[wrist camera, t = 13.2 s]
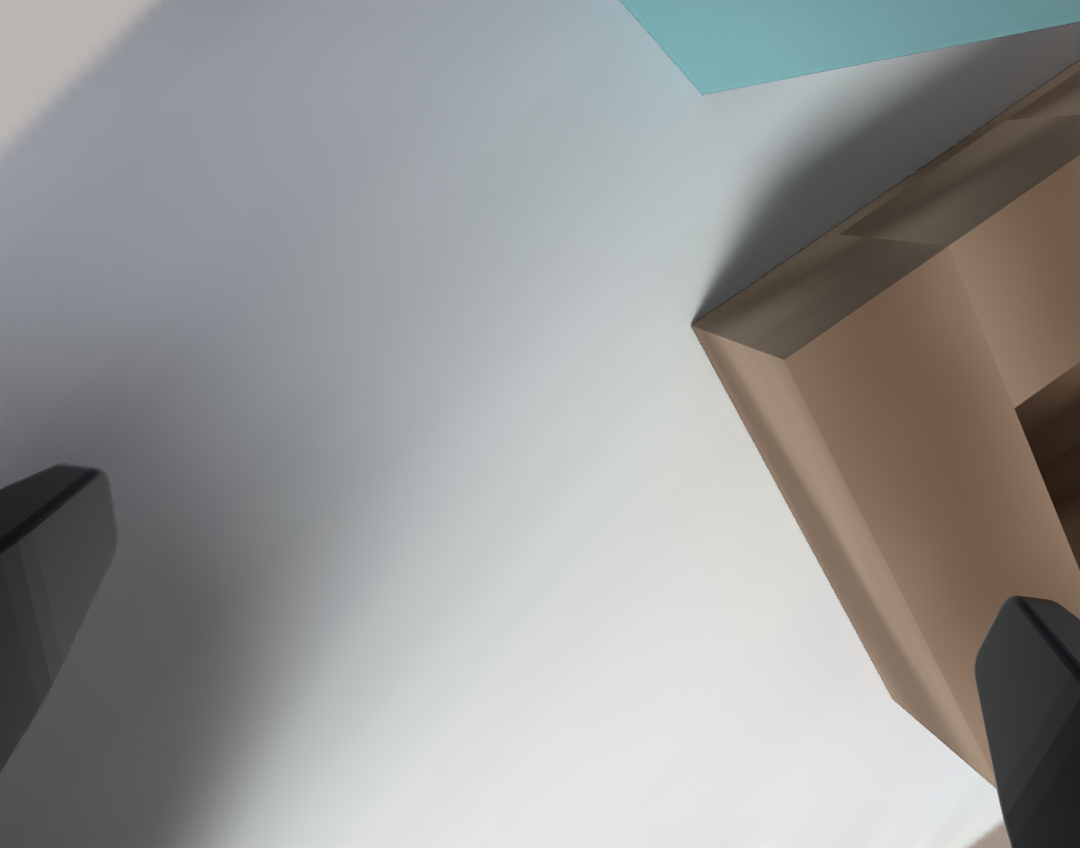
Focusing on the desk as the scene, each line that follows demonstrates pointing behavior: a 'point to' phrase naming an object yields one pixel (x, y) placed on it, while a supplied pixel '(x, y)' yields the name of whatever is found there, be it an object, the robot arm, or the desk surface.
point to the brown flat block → (931, 401)
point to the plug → (824, 32)
